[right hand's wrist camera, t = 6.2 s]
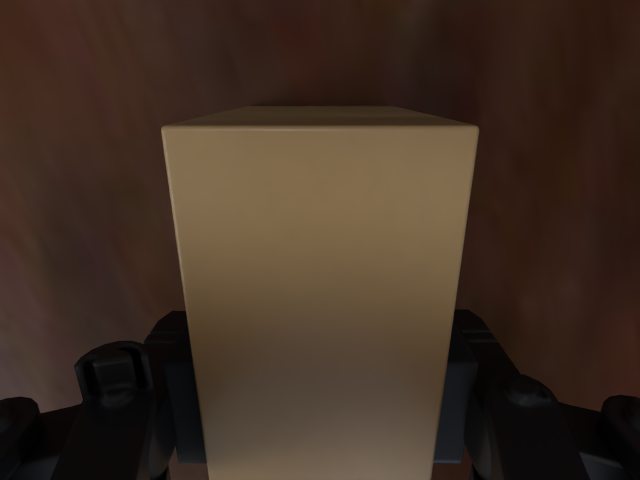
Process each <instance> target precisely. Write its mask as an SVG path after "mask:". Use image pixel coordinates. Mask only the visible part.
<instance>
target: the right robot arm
mask: <svg viewBox="0 0 640 480" xmlns="http://www.w3.org/2000/svg"><path fill="white" fill-rule="evenodd" d="M74 367H75V371H76V375H77V378H78V382H79V386H80V390H81V393H82V397H83V402H82V404H79V405H75V406H72V407H68V408H63V409H59V410H54V411H50V412H45V413H41V414H40V411H39V408H38V404H37V403H36V402H35V401H34V400H33V399H31V398H26V397H14V398H6V399H3V400H0V480H171V479H170V472H169V466H168V463H169V460H170V458H171V455H172V453H173V450H174V448H175V445H176V450H177V456H178V462H179V463H207V460H206V453H205V445H204V438H203V431H202V424H201V416H200V409H199V402H198V394H197V387H196V380H195V373H194V365H193V358H192V351H191V344H190V336H189V329H188V322H187V315H186V311H172V312H170V313H169V314H167V315H166V316H164V317H163V318H162V319H160V320H159V321H158V322H157V324H156V325H155V326H154V328H153V329H152V331H151V333H150V334H149V335H148V336H147V338H146V339H145V341H144V344H141V343H138V342H134V341H117V342H113V343H108V344H105V345H102V346H100V347H97V348H95V349H93V350H91V351H90V352H88V353H87V354H85V355H84V356H82V357H81V358H80V359H79V360H78V362H77V363H76V364H75V365H74ZM465 445H466V448H467V450H468V453H469V455H470V458H471V460H472V466H471V471H470V477H469V480H640V398H637V397H632V396H625V395H617V396H611V397H609V398H608V399H606V400H605V401H604V402H603V405H602V409H601V412H598V411H594V410H589V409H585V408H580V407H576V406H571V405H567V404H564V403H560V402H558V401H557V399H556V397H555V396H554V394H553V393H552V392H551V390H550V389H548V388H547V387H546V386H545V385H543V384H542V383H541V382H539V381H537V380H535V379H533V378H531V377H529V376H526V375H522V374H520V373H519V371H518V370H517V369H516V367H515V366H514V364H513V363H512V361H511V360H510V359H509V357H508V356H507V354H506V353H505V351H504V350H503V349H502V347H501V346H500V344H499V343H497V340H496V339H495V337H494V336H493V334H492V333H490V330H489V329H488V327H487V326H486V324H485V323H484V322H483V320H482V319H481V318H479V317H478V316H476V315H475V314H473V313H472V312H471V311H469V310H454V317H453V324H452V331H451V339H450V346H449V353H448V360H447V368H446V375H445V382H444V389H443V397H442V404H441V411H440V418H439V426H438V433H437V440H436V447H435V455H434V462H433V463H462V458H463V452H464V446H465Z"/></svg>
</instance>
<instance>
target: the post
mask: <svg viewBox="0 0 640 480" xmlns="http://www.w3.org/2000/svg"><path fill="white" fill-rule="evenodd" d="M161 133H162V140H163V148H164V155H165V162H166V169H167V177H168V184H169V191H170V198H171V206H172V213H173V220H174V227H175V235H176V242H177V249H178V256H179V264H180V271H181V278H182V286H183V293H184V300H185V307H186V315H187V322H188V329H189V336H190V344H191V351H192V358H193V365H194V373H195V380H196V387H197V394H198V402H199V409H200V416H201V424H202V431H203V438H204V445H205V453H206V460H207V467H208V474H209V480H431V476H432V469H433V462H434V455H435V447H436V440H437V433H438V426H439V418H440V411H441V404H442V397H443V389H444V382H445V375H446V368H447V360H448V353H449V346H450V339H451V331H452V324H453V317H454V310H455V302H456V295H457V288H458V281H459V273H460V266H461V259H462V251H463V244H464V237H465V230H466V222H467V215H468V208H469V201H470V193H471V186H472V179H473V172H474V164H475V157H476V150H477V143H478V135H479V128H478V126H475V125H472V124H468V123H464V122H459V121H455V120H451V119H446V118H442V117H438V116H434V115H429V114H425V113H421V112H416V111H412V110H408V109H404V108H399V107H395V106H245V107H241V108H237V109H232V110H228V111H224V112H220V113H215V114H211V115H207V116H202V117H198V118H194V119H190V120H185V121H181V122H177V123H173V124H168V125H165V126H163V127H162V129H161Z"/></svg>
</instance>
